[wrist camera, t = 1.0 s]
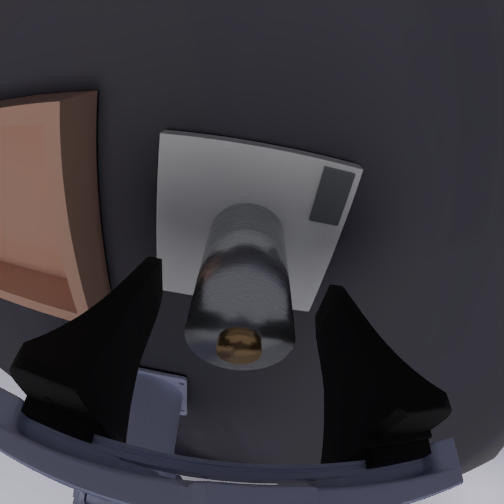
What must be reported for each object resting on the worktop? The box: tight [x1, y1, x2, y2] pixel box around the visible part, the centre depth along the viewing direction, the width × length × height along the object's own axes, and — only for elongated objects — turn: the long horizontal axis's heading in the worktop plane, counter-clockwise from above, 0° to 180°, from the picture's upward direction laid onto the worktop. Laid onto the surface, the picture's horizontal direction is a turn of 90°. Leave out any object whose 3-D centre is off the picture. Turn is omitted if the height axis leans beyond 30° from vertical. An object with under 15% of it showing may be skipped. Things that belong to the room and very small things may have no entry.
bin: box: [0, 90, 111, 321], centre depth 14 cm, size 14×14×4 cm
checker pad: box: [156, 130, 363, 311], centre depth 16 cm, size 10×10×1 cm
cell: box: [185, 203, 295, 370], centre depth 13 cm, size 4×4×8 cm
